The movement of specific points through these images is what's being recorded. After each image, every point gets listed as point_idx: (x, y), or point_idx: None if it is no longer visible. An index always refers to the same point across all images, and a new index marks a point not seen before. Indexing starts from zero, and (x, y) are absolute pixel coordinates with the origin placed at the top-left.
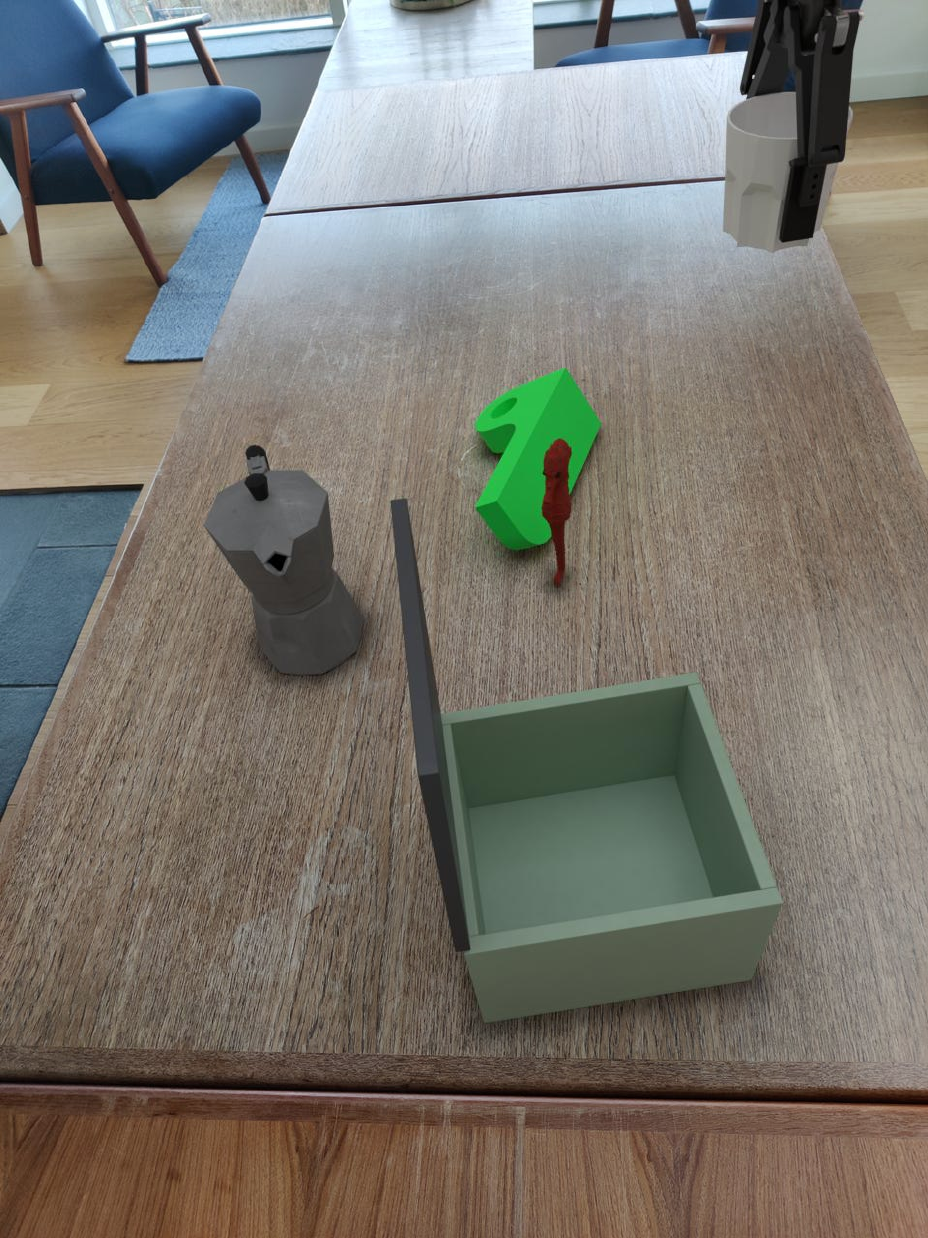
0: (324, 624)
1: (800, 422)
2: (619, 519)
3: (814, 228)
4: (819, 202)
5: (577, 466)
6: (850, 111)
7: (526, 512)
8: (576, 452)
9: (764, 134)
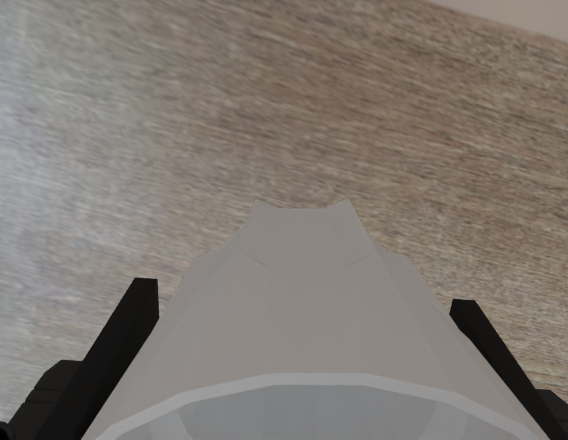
0: None
1: (409, 140)
2: None
3: (483, 313)
4: (516, 361)
5: None
6: (441, 399)
7: None
8: None
9: (131, 436)
